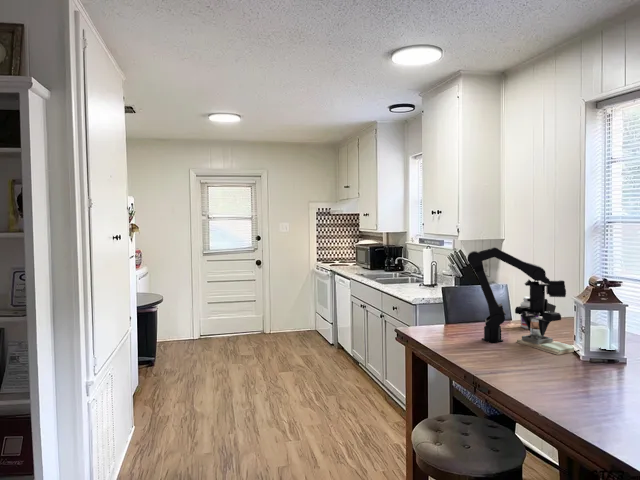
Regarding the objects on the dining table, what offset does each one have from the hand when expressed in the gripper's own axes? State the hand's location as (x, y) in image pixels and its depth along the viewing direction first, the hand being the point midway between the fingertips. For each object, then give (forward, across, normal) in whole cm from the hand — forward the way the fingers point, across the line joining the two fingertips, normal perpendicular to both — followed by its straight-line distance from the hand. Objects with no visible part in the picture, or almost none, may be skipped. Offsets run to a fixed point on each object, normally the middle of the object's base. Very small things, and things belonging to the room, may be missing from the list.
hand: (537, 333), depth 192 cm
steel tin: (+4, 0, 0) cm, 4 cm away
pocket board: (+4, -5, 0) cm, 6 cm away
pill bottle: (+4, +22, -19) cm, 29 cm away
